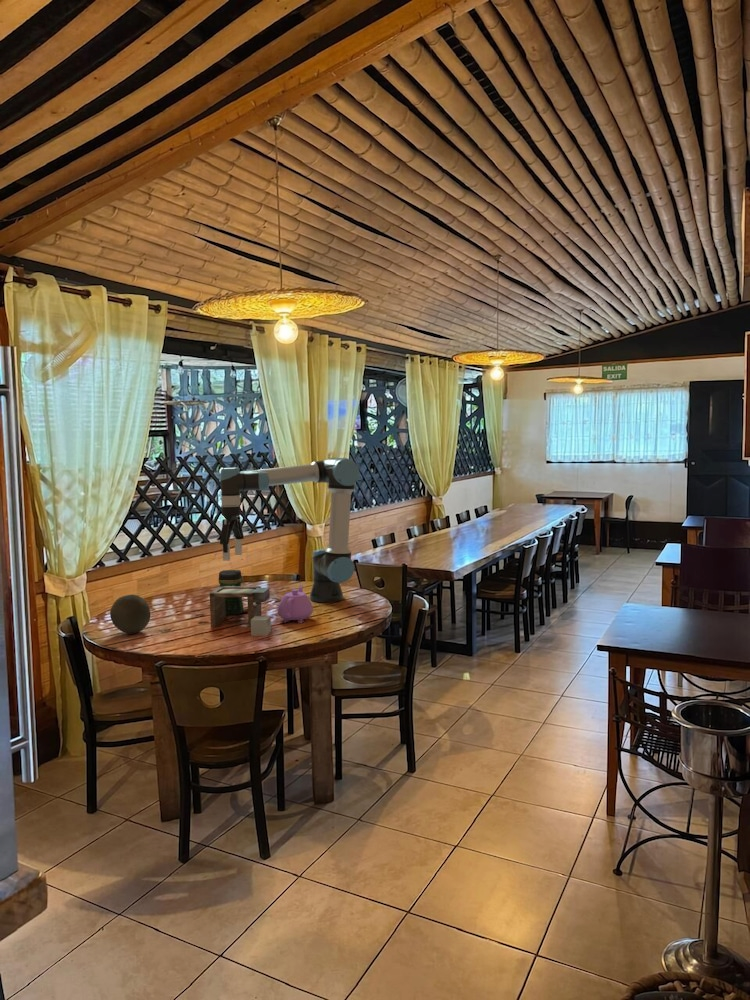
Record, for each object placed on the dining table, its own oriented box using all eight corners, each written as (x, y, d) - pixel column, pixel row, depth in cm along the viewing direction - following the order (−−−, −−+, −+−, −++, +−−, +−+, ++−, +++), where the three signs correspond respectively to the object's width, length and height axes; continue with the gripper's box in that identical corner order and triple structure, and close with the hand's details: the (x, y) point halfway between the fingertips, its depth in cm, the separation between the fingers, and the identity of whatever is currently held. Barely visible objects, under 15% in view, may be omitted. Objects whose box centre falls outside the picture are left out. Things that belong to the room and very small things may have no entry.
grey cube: (271, 631, 258) (270, 615, 258) (266, 635, 252) (266, 620, 252) (255, 631, 259) (255, 615, 259) (251, 635, 253) (250, 619, 253)
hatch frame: (261, 618, 276) (260, 586, 275) (252, 627, 264) (251, 593, 263) (221, 618, 278) (220, 586, 277) (210, 626, 266) (209, 593, 265)
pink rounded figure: (286, 612, 286) (285, 583, 285) (319, 613, 283) (318, 584, 282) (271, 625, 266) (270, 594, 265) (306, 626, 264) (305, 595, 262)
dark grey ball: (120, 629, 265) (118, 591, 264) (156, 628, 265) (154, 591, 264) (105, 639, 251) (103, 599, 250) (143, 639, 251) (141, 599, 250)
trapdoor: (269, 597, 273) (269, 587, 273) (264, 602, 265) (263, 592, 264) (224, 597, 275) (223, 587, 275) (217, 602, 267) (216, 592, 266)
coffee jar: (245, 610, 290) (243, 568, 289) (240, 615, 282) (238, 571, 281) (223, 610, 291) (221, 568, 289) (217, 615, 283) (216, 572, 282)
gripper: (233, 503, 287) (234, 552, 289) (210, 508, 262) (212, 562, 264) (250, 503, 286) (251, 552, 287) (228, 508, 261) (230, 563, 263)
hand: (232, 557), depth 276 cm, fingers open, 13 cm apart
